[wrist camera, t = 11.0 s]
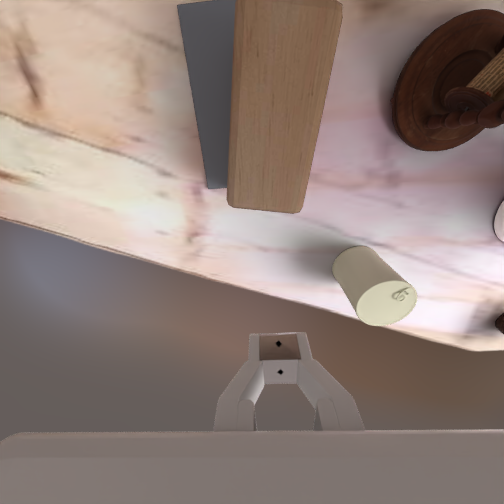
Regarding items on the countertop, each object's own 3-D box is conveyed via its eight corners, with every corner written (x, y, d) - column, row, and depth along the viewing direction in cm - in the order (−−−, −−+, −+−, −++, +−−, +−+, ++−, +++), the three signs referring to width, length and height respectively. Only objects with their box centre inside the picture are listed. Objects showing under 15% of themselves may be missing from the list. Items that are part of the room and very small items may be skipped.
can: (388, 264, 43) (432, 304, 32) (351, 292, 46) (379, 337, 35) (359, 236, 40) (397, 270, 30) (322, 268, 44) (344, 309, 33)
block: (225, 208, 27) (234, -21, 18) (232, 192, 36) (241, 33, 27) (302, 216, 28) (350, -5, 18) (291, 198, 36) (319, 42, 27)
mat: (308, -9, 26) (309, -12, 25) (303, 181, 36) (303, 181, 35) (178, 7, 26) (177, 4, 26) (209, 188, 36) (208, 189, 36)
